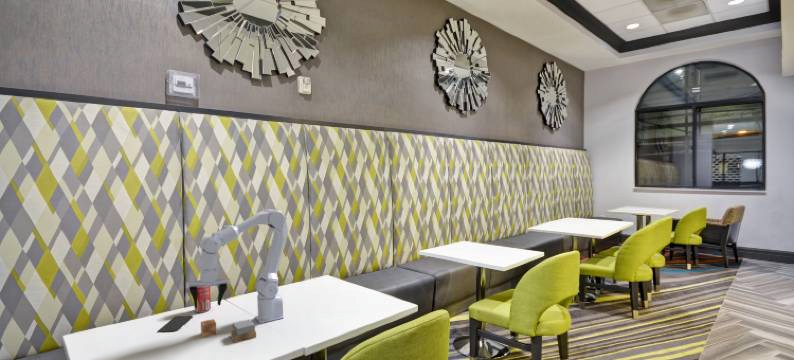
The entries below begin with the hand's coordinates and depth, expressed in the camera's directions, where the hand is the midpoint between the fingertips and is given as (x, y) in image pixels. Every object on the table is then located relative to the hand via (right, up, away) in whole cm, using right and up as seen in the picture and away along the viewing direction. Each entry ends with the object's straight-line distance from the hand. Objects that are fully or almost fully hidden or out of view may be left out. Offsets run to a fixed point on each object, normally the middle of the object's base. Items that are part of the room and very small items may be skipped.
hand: (207, 305), depth 145 cm
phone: (-17, -11, +10) cm, 23 cm away
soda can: (-14, -10, +25) cm, 30 cm away
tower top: (+14, -8, -2) cm, 17 cm away
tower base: (+14, -11, -2) cm, 18 cm away
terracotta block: (0, -11, 0) cm, 11 cm away
